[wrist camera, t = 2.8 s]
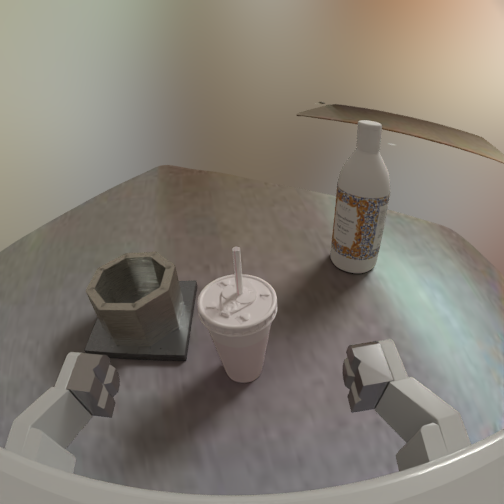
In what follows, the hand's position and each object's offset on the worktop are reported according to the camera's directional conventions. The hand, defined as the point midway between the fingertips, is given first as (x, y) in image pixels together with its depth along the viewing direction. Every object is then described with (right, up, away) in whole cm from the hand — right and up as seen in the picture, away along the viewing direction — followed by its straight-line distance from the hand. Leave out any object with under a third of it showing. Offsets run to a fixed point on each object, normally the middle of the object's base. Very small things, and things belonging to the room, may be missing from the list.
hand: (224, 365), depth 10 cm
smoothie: (0, -8, +20) cm, 22 cm away
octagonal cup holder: (-12, -5, +26) cm, 29 cm away
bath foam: (+16, +2, +34) cm, 38 cm away
